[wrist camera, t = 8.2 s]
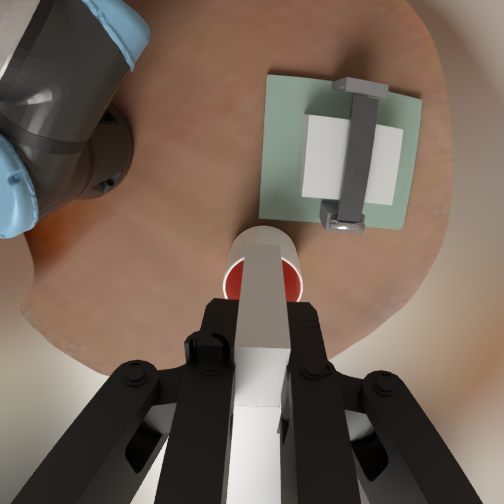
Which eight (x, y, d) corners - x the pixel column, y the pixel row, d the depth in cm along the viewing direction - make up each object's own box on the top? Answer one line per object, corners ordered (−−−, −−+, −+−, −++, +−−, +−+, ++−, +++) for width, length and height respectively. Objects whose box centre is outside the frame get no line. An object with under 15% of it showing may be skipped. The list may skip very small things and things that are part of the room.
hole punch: (258, 215, 45) (257, 239, 37) (266, 75, 36) (268, 67, 29) (399, 226, 45) (422, 250, 37) (418, 99, 36) (449, 101, 29)
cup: (264, 209, 45) (265, 236, 36) (309, 255, 48) (319, 290, 39) (216, 251, 48) (206, 286, 39) (261, 292, 51) (260, 332, 42)
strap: (328, 226, 39) (330, 230, 38) (345, 93, 31) (348, 94, 30) (361, 229, 39) (363, 233, 38) (381, 100, 31) (385, 100, 30)
